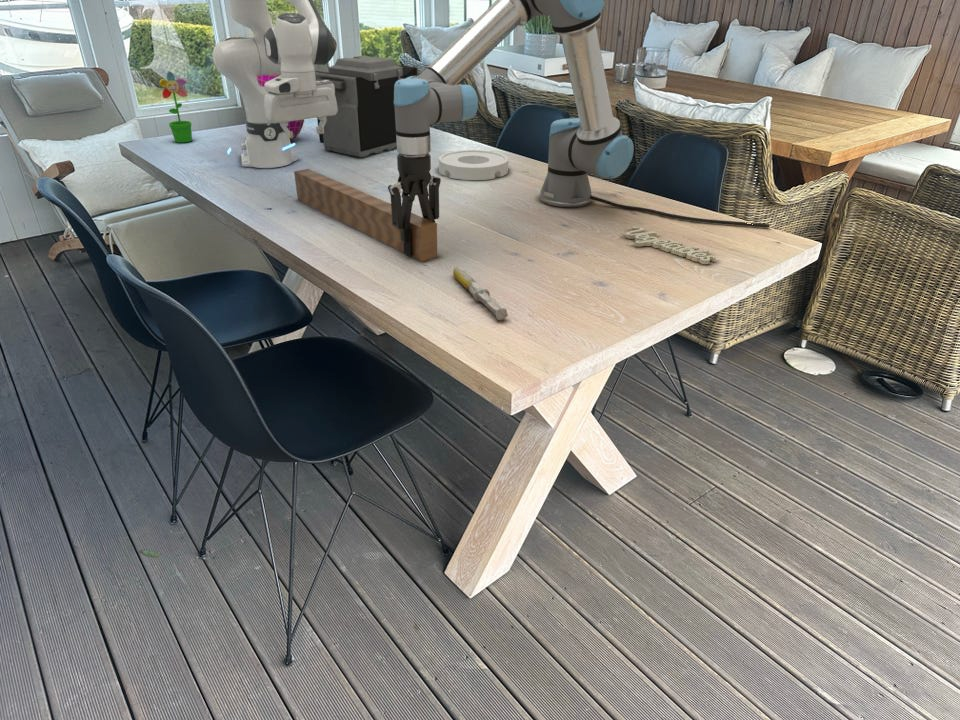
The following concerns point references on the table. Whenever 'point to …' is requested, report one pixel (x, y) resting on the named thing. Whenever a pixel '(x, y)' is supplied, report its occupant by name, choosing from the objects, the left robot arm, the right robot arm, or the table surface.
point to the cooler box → (363, 105)
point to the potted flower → (178, 128)
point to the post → (364, 213)
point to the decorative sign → (669, 245)
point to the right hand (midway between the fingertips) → (417, 251)
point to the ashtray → (473, 164)
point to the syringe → (479, 293)
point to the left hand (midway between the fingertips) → (305, 135)
